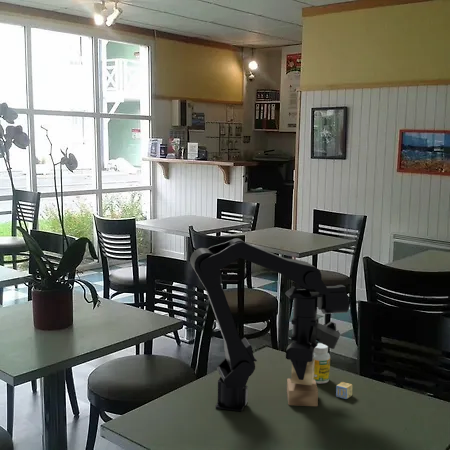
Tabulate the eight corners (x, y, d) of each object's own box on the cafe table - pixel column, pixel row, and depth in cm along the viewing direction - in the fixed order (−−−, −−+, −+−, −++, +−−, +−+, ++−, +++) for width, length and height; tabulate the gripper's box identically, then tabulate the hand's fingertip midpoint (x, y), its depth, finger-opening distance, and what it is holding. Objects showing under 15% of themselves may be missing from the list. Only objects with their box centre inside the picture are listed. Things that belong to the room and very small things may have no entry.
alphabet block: (335, 396, 145) (336, 385, 145) (341, 392, 148) (341, 381, 147) (346, 400, 143) (347, 388, 143) (352, 395, 146) (352, 384, 145)
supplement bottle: (319, 374, 159) (321, 340, 157) (333, 381, 154) (335, 346, 153) (304, 378, 156) (306, 344, 154) (318, 385, 151) (320, 350, 150)
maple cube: (291, 382, 141) (291, 363, 140) (293, 375, 145) (294, 356, 145) (311, 385, 139) (312, 365, 139) (313, 377, 144) (314, 358, 144)
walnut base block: (288, 406, 140) (289, 390, 139) (286, 393, 147) (287, 378, 146) (317, 407, 140) (318, 391, 139) (314, 394, 147) (314, 379, 146)
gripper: (335, 329, 129) (332, 395, 131) (341, 306, 147) (338, 365, 149) (286, 324, 132) (284, 389, 134) (297, 302, 150) (295, 360, 152)
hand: (302, 375), depth 142 cm, fingers closed on maple cube, 5 cm apart
